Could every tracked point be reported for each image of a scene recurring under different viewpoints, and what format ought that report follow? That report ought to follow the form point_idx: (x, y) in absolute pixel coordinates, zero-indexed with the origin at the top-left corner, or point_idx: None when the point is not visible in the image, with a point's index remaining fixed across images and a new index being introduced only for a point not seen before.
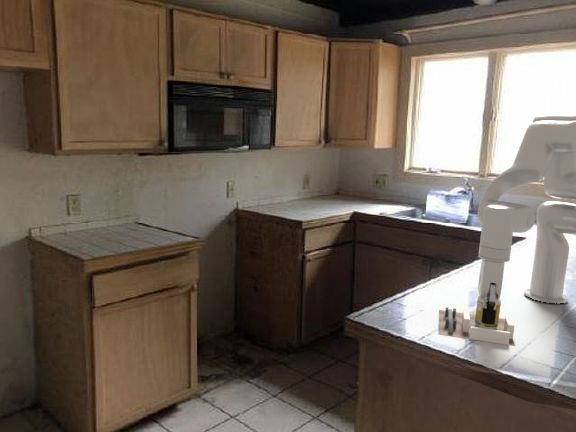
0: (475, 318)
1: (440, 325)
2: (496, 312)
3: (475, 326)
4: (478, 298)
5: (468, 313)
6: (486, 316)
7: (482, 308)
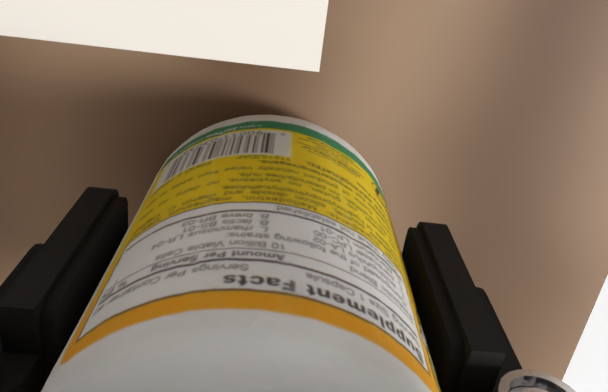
0: (261, 136)
1: None
2: None
3: (261, 110)
4: (198, 343)
5: (224, 46)
6: (12, 282)
7: (95, 294)
